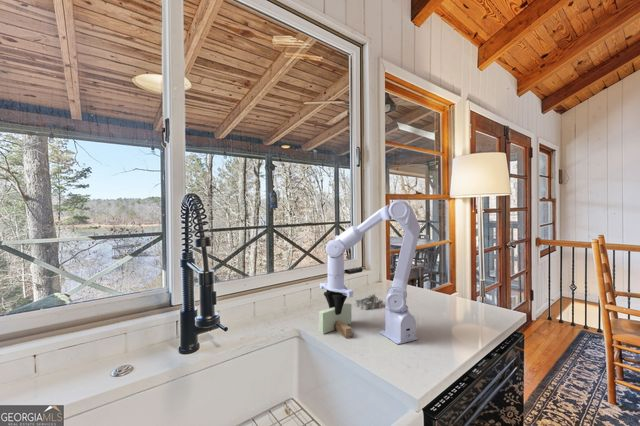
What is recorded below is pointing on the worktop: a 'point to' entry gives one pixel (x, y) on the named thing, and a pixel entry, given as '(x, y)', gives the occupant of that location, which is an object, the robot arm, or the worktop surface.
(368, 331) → the worktop surface
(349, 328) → the walnut board
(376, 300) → the egg carton
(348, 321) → the long pale green beam
